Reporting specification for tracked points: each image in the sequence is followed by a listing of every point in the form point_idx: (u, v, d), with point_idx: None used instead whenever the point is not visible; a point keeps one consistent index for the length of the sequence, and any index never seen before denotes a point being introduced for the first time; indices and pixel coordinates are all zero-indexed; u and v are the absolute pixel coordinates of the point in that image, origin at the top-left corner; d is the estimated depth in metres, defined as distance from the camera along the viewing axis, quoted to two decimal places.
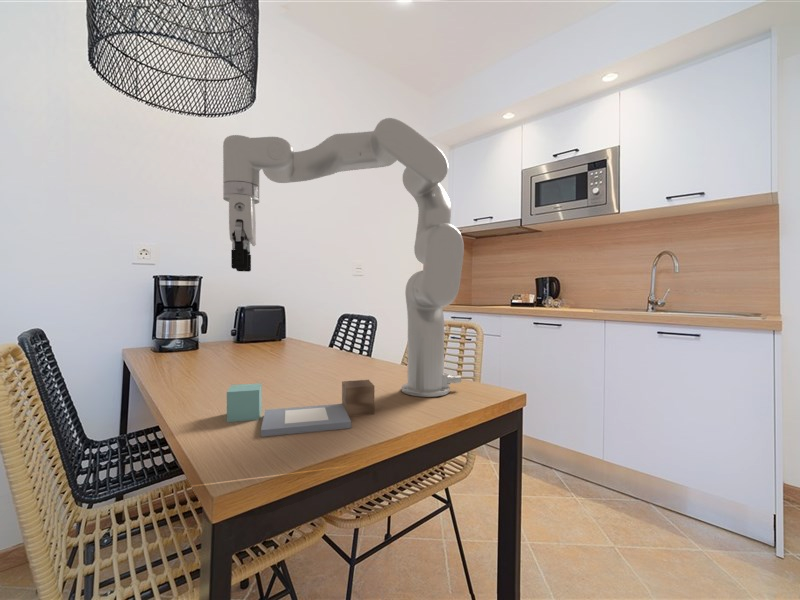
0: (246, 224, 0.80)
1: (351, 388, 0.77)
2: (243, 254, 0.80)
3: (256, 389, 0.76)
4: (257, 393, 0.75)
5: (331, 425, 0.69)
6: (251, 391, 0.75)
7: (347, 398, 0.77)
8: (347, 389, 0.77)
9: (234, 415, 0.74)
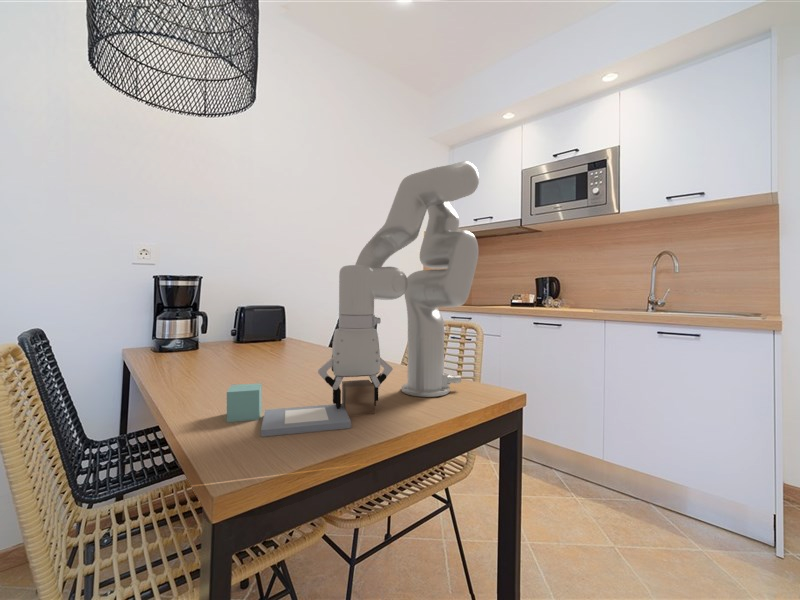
0: None
1: (351, 388, 0.77)
2: None
3: (256, 389, 0.76)
4: (257, 393, 0.75)
5: (331, 425, 0.69)
6: (251, 391, 0.75)
7: (347, 398, 0.77)
8: (347, 389, 0.77)
9: (234, 415, 0.74)
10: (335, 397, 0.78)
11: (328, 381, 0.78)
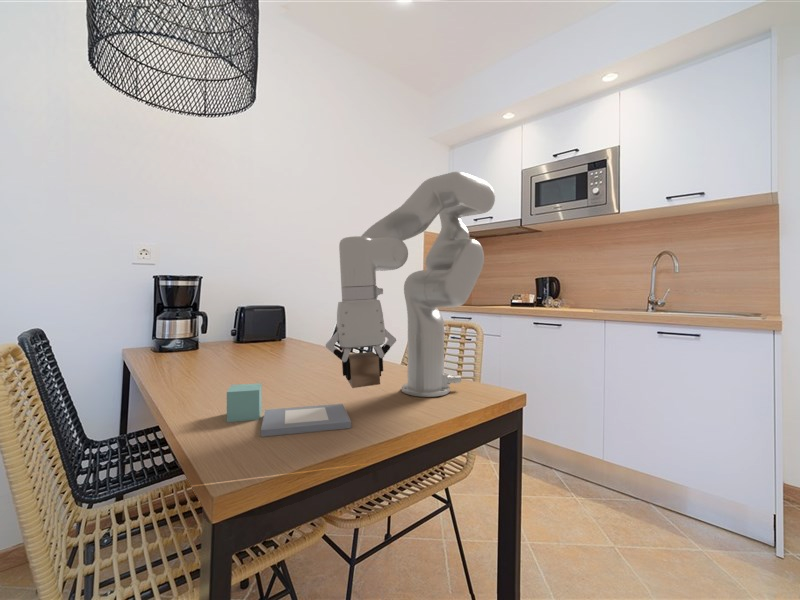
0: None
1: (356, 360, 0.78)
2: None
3: (256, 389, 0.76)
4: (257, 393, 0.75)
5: (331, 425, 0.69)
6: (251, 391, 0.75)
7: (352, 370, 0.78)
8: (352, 361, 0.78)
9: (234, 415, 0.74)
10: (345, 369, 0.80)
11: (337, 354, 0.79)
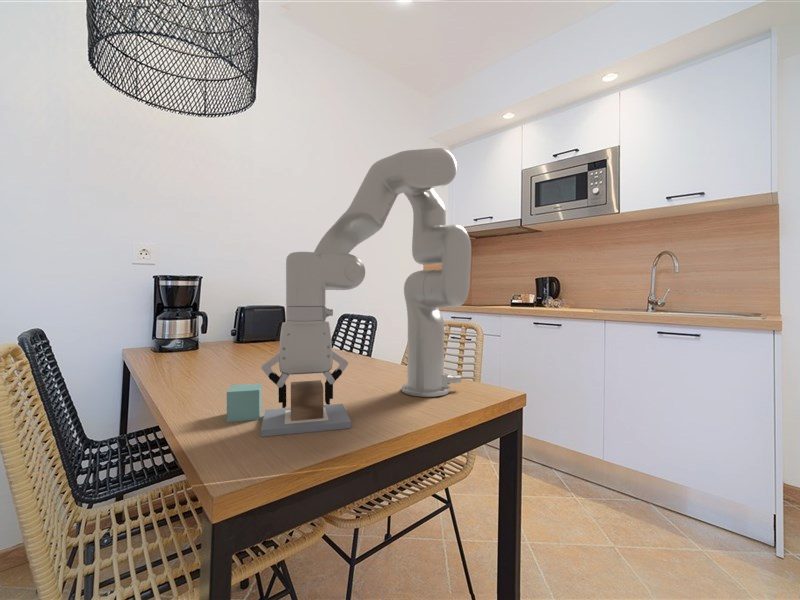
0: None
1: (297, 389, 0.70)
2: None
3: (256, 389, 0.76)
4: (257, 393, 0.75)
5: (331, 425, 0.69)
6: (251, 391, 0.75)
7: (292, 400, 0.70)
8: (292, 391, 0.70)
9: (234, 415, 0.74)
10: (280, 395, 0.72)
11: (272, 378, 0.71)
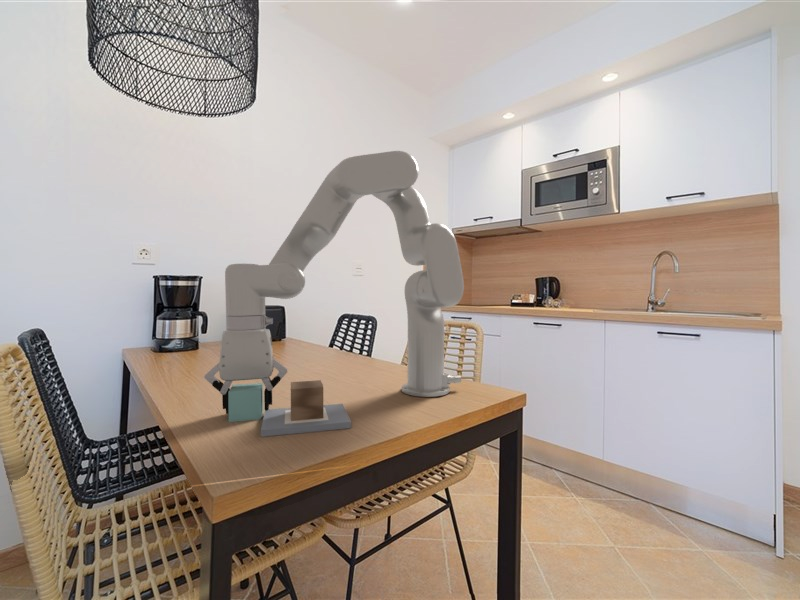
0: None
1: (297, 389, 0.70)
2: None
3: (258, 389, 0.76)
4: (259, 393, 0.75)
5: (331, 425, 0.69)
6: (253, 391, 0.75)
7: (292, 400, 0.70)
8: (292, 391, 0.70)
9: (236, 415, 0.74)
10: (224, 402, 0.75)
11: (215, 386, 0.75)
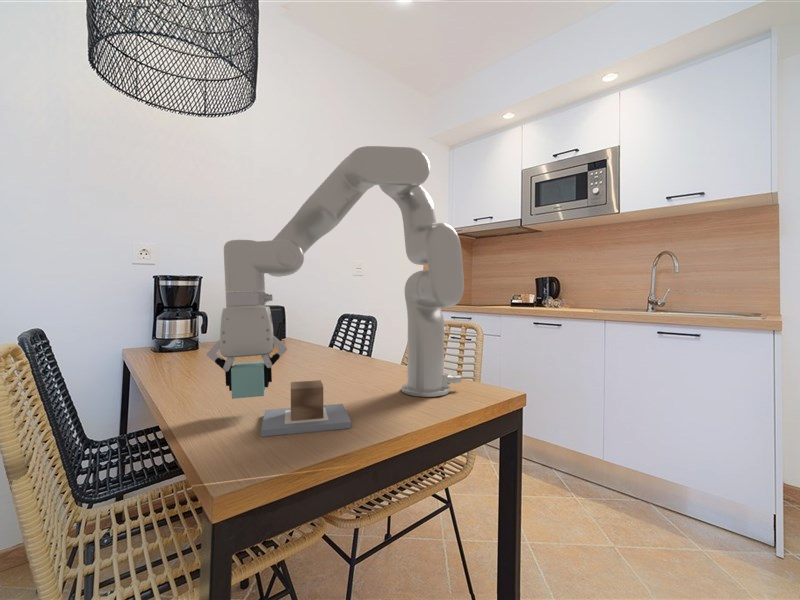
0: (273, 335, 0.80)
1: (297, 389, 0.70)
2: None
3: (260, 366, 0.76)
4: (261, 369, 0.75)
5: (331, 425, 0.69)
6: (255, 367, 0.75)
7: (292, 400, 0.70)
8: (292, 391, 0.70)
9: (239, 391, 0.74)
10: (227, 379, 0.76)
11: (218, 363, 0.75)
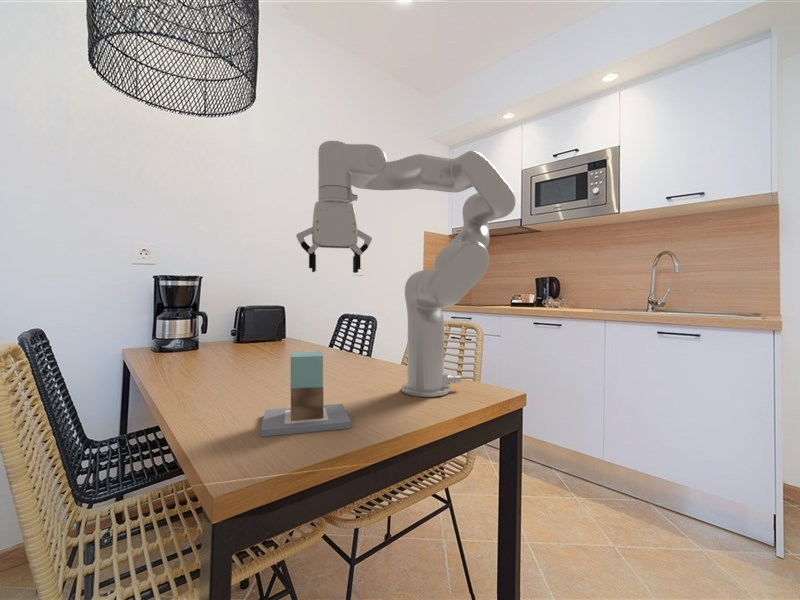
0: None
1: (297, 389, 0.70)
2: None
3: (319, 355, 0.72)
4: (321, 359, 0.72)
5: (331, 425, 0.69)
6: (315, 357, 0.71)
7: (292, 400, 0.70)
8: (292, 391, 0.70)
9: (298, 381, 0.71)
10: (311, 261, 0.84)
11: (304, 245, 0.84)
